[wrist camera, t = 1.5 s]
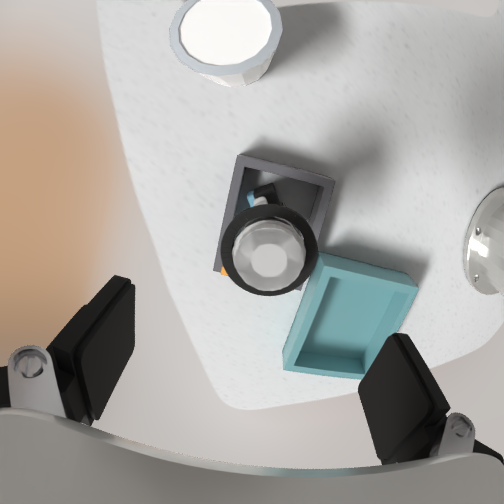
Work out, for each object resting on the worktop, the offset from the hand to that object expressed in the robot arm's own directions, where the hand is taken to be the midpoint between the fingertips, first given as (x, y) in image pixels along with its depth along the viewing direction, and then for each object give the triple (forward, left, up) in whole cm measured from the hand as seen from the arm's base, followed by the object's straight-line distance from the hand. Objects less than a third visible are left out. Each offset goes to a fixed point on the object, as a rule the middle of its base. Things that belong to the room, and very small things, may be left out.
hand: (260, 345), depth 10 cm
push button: (-1, 0, -16) cm, 16 cm away
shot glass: (+5, -13, -16) cm, 22 cm away
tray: (-10, +7, -16) cm, 20 cm away
